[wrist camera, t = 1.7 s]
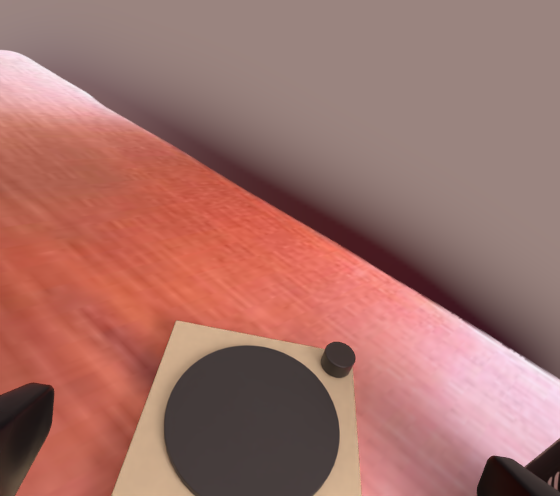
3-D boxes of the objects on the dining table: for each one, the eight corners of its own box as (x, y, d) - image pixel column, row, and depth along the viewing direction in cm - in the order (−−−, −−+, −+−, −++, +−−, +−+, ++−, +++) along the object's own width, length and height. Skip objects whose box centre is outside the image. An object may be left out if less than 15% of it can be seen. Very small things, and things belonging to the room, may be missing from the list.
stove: (356, 579, 20) (376, 561, 18) (101, 538, 19) (97, 515, 17) (345, 367, 29) (357, 342, 27) (175, 335, 28) (176, 307, 27)
